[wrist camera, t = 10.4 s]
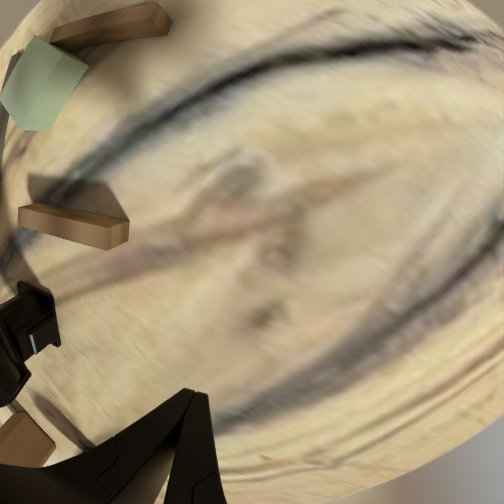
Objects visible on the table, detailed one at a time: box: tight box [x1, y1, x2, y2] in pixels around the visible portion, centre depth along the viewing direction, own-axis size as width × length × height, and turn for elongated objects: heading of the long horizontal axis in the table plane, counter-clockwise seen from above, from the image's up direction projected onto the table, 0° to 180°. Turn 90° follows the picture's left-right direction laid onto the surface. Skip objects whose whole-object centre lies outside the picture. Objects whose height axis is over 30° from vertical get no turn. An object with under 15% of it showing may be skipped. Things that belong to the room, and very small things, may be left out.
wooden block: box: [0, 412, 56, 468], centre depth 25 cm, size 10×10×20 cm
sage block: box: [0, 35, 89, 132], centre depth 16 cm, size 7×7×4 cm
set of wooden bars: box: [0, 3, 172, 251], centre depth 17 cm, size 21×18×3 cm
